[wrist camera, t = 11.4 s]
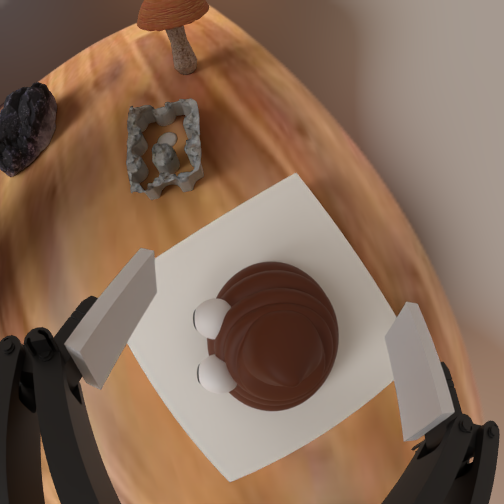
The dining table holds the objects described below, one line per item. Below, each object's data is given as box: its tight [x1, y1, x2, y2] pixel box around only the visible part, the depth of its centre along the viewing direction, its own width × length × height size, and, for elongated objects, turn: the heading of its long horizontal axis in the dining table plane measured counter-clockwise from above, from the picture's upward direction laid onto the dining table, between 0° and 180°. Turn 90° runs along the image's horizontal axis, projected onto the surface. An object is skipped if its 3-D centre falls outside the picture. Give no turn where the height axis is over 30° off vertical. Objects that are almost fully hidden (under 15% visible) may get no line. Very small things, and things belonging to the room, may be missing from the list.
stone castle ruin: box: [126, 98, 204, 200], centre depth 24 cm, size 11×8×4 cm
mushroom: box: [137, 0, 209, 75], centre depth 22 cm, size 8×8×15 cm
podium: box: [127, 173, 397, 482], centre depth 20 cm, size 19×19×4 cm
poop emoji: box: [193, 261, 339, 411], centre depth 14 cm, size 10×8×9 cm
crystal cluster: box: [0, 82, 57, 177], centre depth 23 cm, size 13×14×10 cm
